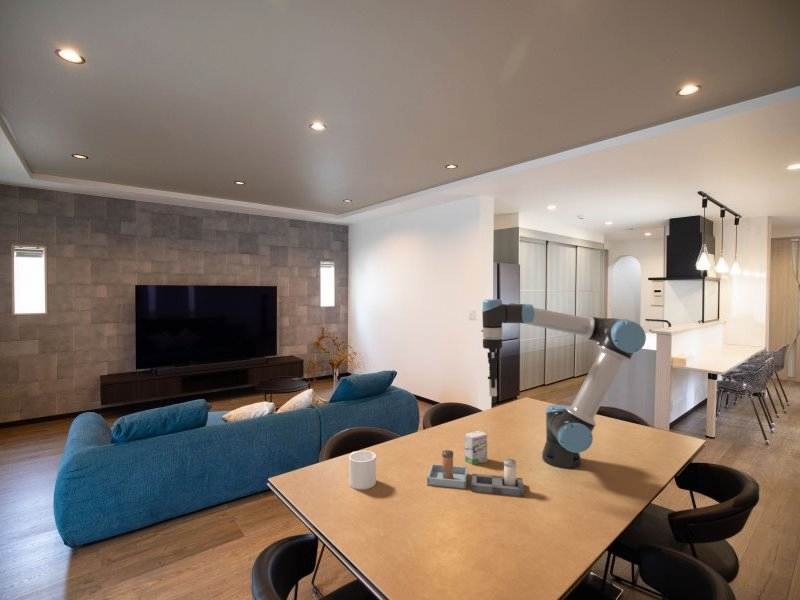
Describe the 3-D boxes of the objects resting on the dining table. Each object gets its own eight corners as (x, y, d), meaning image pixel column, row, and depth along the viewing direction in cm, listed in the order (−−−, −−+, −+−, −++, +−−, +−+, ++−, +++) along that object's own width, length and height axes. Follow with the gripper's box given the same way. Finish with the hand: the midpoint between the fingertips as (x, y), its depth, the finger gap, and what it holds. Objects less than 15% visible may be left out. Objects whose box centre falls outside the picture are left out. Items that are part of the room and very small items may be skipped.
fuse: (515, 486, 139) (515, 459, 138) (516, 492, 134) (516, 464, 134) (503, 485, 139) (503, 458, 139) (504, 491, 135) (504, 463, 135)
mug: (381, 484, 142) (380, 457, 142) (357, 493, 136) (357, 464, 136) (363, 472, 152) (363, 446, 152) (341, 479, 146) (340, 452, 146)
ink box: (472, 466, 157) (472, 437, 157) (464, 461, 161) (464, 433, 161) (488, 461, 161) (487, 433, 161) (480, 457, 165) (479, 430, 165)
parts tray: (467, 474, 149) (467, 467, 149) (465, 489, 137) (465, 481, 137) (431, 471, 152) (431, 464, 152) (427, 486, 141) (427, 477, 141)
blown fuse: (454, 476, 146) (453, 450, 146) (453, 481, 142) (452, 455, 142) (443, 475, 147) (442, 449, 147) (441, 480, 143) (441, 454, 143)
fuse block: (522, 485, 140) (522, 478, 140) (524, 497, 132) (524, 490, 132) (472, 480, 144) (472, 473, 144) (471, 492, 136) (471, 484, 136)
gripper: (483, 335, 165) (483, 384, 165) (482, 341, 140) (482, 399, 140) (501, 335, 163) (501, 385, 163) (503, 341, 139) (504, 400, 139)
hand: (492, 391), depth 152 cm, fingers open, 13 cm apart
